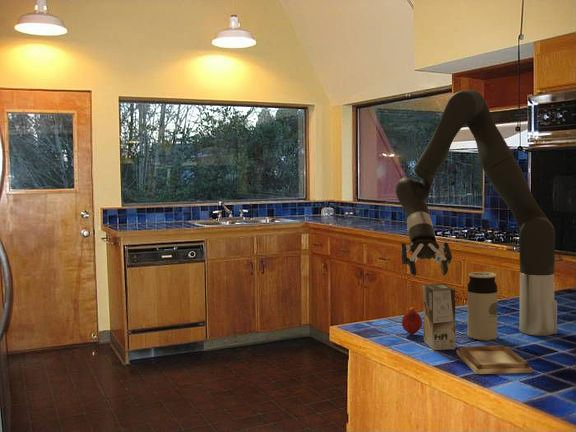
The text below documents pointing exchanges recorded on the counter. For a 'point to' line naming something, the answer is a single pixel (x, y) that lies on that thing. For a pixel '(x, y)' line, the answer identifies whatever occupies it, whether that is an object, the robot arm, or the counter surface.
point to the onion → (411, 321)
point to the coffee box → (439, 316)
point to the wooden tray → (493, 360)
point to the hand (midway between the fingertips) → (429, 274)
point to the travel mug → (482, 306)
